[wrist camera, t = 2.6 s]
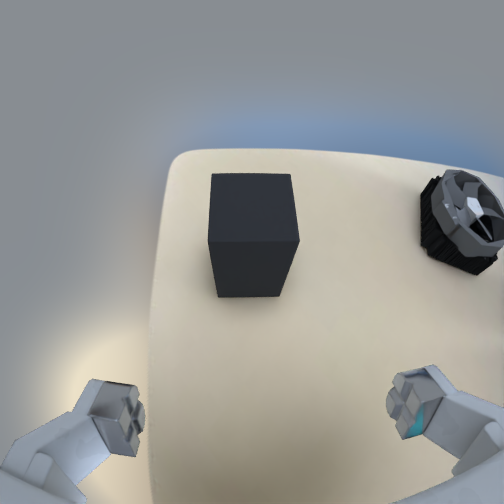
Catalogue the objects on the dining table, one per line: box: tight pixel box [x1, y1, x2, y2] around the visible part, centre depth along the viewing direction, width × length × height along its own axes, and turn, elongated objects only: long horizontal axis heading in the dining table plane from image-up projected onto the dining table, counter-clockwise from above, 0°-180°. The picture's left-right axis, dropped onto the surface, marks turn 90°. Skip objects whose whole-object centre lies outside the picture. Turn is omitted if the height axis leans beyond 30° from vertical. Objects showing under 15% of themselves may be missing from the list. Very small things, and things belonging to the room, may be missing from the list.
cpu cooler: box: [420, 170, 504, 276], centre depth 26 cm, size 10×6×10 cm
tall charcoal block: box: [208, 173, 300, 297], centre depth 21 cm, size 5×5×9 cm
